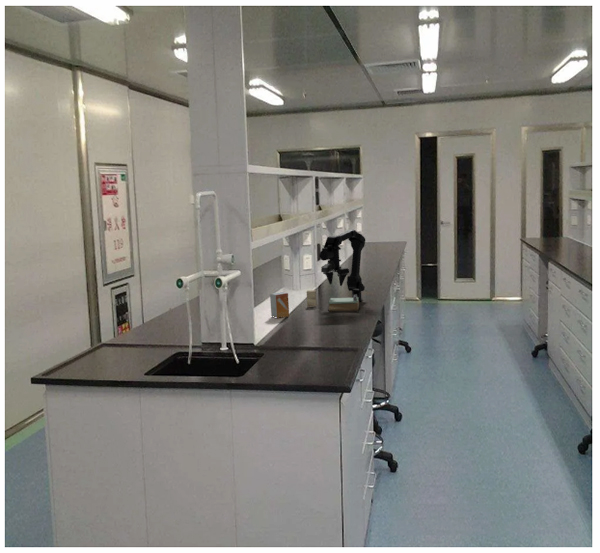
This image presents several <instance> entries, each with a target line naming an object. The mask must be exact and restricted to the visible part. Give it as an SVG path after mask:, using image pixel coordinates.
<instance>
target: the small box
mask: <svg viewBox="0 0 600 553" xmlns="http://www.w3.org/2000/svg"><path fill="white" fill-rule="evenodd" d="M269 299H270V312H271V313H270V316H274V317H277V318H276V319H279V317H281V318H287V317H290V308H289V303H290V302H289V293H288V292H285V291H279V292H273V293H269ZM274 317H273V318H274Z"/></svg>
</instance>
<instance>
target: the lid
mask: <svg viewBox="0 0 600 553" xmlns="http://www.w3.org/2000/svg"><path fill="white" fill-rule="evenodd" d="M358 299H359V297H357V295H354V297H353V298H352V297H330V299H329V301H328V305H329V304H340V303H358Z"/></svg>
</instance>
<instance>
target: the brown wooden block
mask: <svg viewBox="0 0 600 553" xmlns="http://www.w3.org/2000/svg"><path fill="white" fill-rule="evenodd" d="M306 304H307V306H306V307H307V308H309V307H311V308H313V307H316V306H317V305H318V303H317V290H316V289H315V290H314V289H309V290H306Z"/></svg>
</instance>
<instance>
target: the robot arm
mask: <svg viewBox="0 0 600 553" xmlns="http://www.w3.org/2000/svg"><path fill="white" fill-rule="evenodd" d="M346 240H348V241H349V242H350V246H351V249H352V259H351V260H352V261H351V271H350V269H349V268H348V267H347V268H346V267H342V266H340V265H341V264H340V262H342V259H340V250H341V249H342V248H341V247H340V245H342V243H343V242H344V241H346ZM365 244H366V238H365V237H364V235H363V234H362V233H359V232H357V230H355V229H347V230H346V231H344V232H342V233H339V234H337V235H331V236H330V235H329V236H327V238H326V240H325V243H324V245H323V248H321V251H320V252H319V254H318V255H319V256H318V257H319V259H320V260H321V261H327V263H326V264H323V265H322V266H321V267H320V268H321V269H320V271H321V273H323V275H325V277H326V278H327V281H328V283H329V285H333V278H334V273H337V274H336V275H337V277H338V280H339V281H338V282H339V286H340V287H342V286H343V285H344V281H345V279H346V278H347V279H346V286H347V289H348V291H349V292H350V291H351V298H353V297H354V295H357V297H359V299H358V300H359V302H363V296H362V292H364V291H365V289H366V287H365V285H364V284H363V283H362V282H363V281H362V277H361V275H360V269H361V260H362V259H361V258H362V250H363V249H364V247H365Z"/></svg>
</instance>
